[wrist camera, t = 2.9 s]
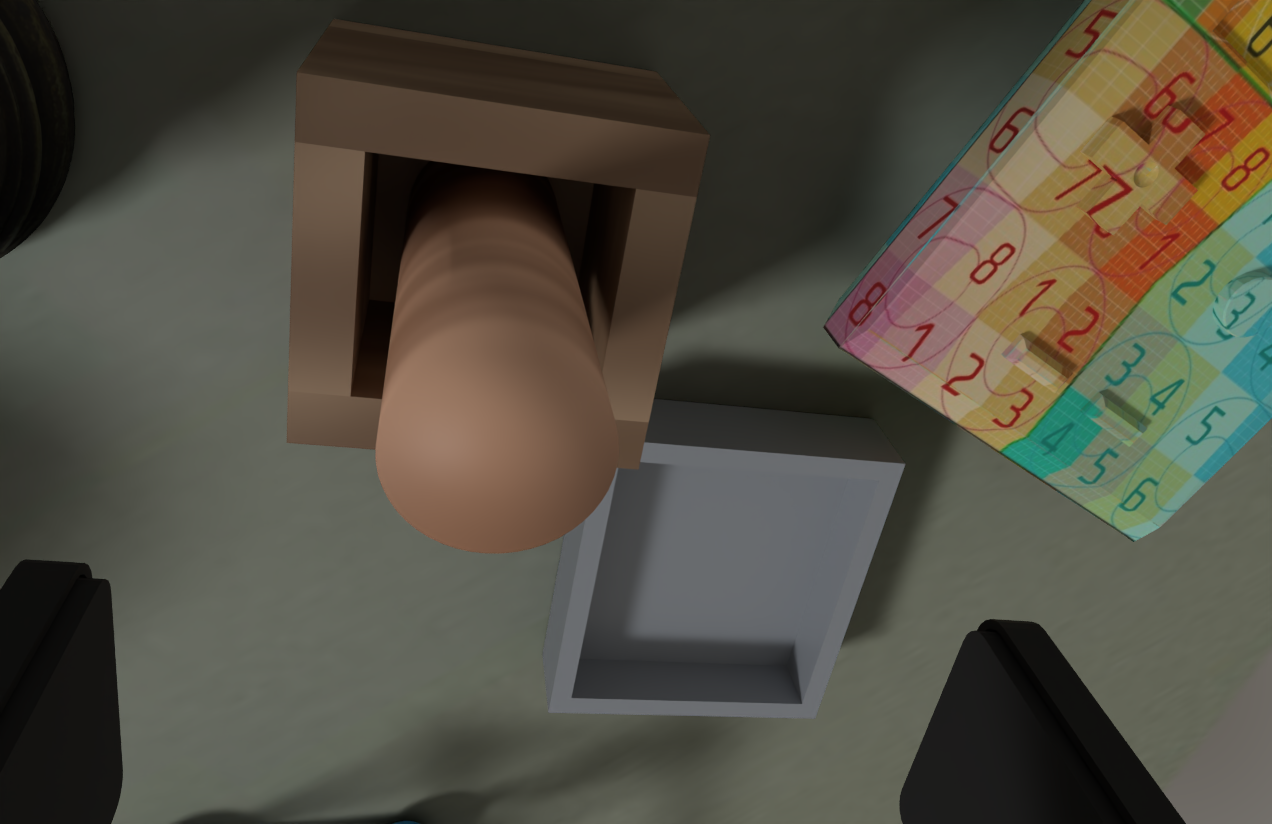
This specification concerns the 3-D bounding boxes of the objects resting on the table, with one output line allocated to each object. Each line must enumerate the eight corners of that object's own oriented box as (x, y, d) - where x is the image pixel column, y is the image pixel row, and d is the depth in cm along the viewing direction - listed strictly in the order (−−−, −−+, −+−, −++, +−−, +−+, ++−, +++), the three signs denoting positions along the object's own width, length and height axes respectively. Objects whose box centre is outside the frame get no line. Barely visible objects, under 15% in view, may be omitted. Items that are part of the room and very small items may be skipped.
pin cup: (333, 18, 23) (297, 72, 17) (656, 71, 24) (710, 135, 19) (321, 322, 26) (286, 442, 21) (604, 351, 28) (638, 469, 22)
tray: (590, 392, 28) (600, 439, 26) (873, 419, 30) (905, 463, 28) (542, 654, 33) (548, 712, 30) (792, 663, 34) (815, 718, 32)
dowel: (414, 130, 23) (384, 334, 14) (567, 152, 24) (638, 359, 14) (402, 274, 25) (367, 546, 15) (546, 290, 25) (598, 559, 16)
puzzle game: (851, 365, 24) (1607, -526, 17) (795, 289, 28) (1391, -458, 22) (1153, 562, 29) (1839, -87, 22) (1066, 472, 33) (1625, -98, 26)
